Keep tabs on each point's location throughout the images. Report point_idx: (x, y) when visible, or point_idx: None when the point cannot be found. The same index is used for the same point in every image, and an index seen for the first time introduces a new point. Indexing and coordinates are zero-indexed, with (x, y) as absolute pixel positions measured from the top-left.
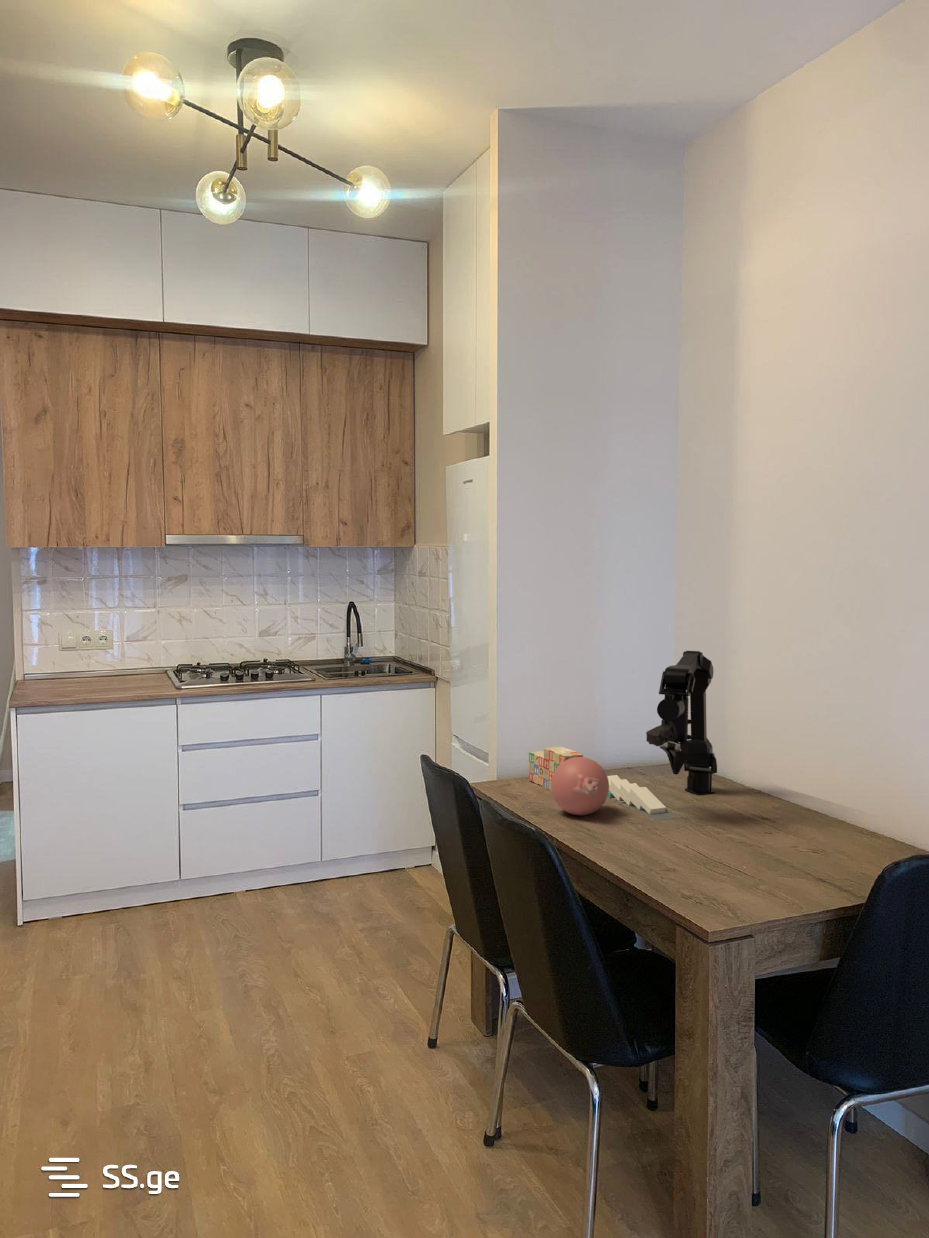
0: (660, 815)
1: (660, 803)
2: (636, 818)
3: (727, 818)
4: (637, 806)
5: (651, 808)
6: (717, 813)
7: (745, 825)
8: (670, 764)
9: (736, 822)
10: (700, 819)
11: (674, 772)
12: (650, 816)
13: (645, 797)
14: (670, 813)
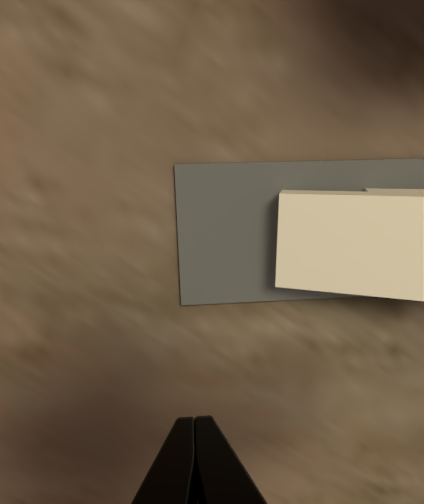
0: (242, 227)
1: (312, 281)
2: (263, 91)
3: (115, 452)
4: (386, 189)
5: (285, 202)
6: None
7: (5, 457)
8: (255, 491)
9: (54, 451)
10: (137, 357)
11: (181, 426)
12: (247, 170)
13: (390, 235)
14: (251, 289)
